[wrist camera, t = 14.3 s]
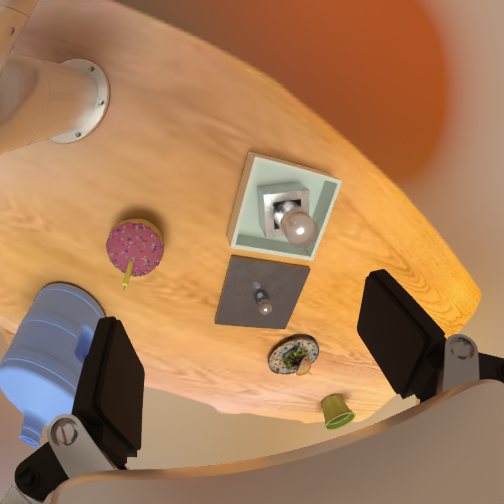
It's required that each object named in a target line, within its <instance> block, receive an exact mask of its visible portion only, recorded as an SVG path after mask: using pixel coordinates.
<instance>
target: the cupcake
mask: <svg viewBox="0 0 504 504" xmlns="http://www.w3.org/2000/svg"><path fill="white" fill-rule="evenodd" d="M106 248H107V252H108V256H109V258H110V262H112V263H113V264H114V265H115V267H116V268H118V269H119V270H121V272H123V273H126V274H125V277H124V281H123V286H124V288H123V291H125V287H127V286H128V282H129V278H130V276H131V275H132V276H139V275H141V276H142V275H143V276H144V275H145V274H149V273H150V272H151V271H152V270H153V269H155V267H156V266H158V265H159V263H160V261H161V259H162V257H163V253H164V240H163V238H162V236H161V233H160V231H159V229H158V228H157V227H156V226H154V225H153V224H152V223H151V222H149V221H148V220H145V219H129V220H122V221H120V222H118V223H117V224H116V225H115V226H114V227H113V228H112V230H111V232H110V234H109V236H108V240H107V242H106ZM141 276H140V277H141Z"/></svg>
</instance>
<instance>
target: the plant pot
mask: <svg viewBox="0 0 504 504" xmlns="http://www.w3.org/2000/svg"><path fill="white" fill-rule="evenodd" d="M322 409H323V413H324V417H325V429H326V430H335V429H338V428H341V427H343V426H345V425H347V424H348V423H350V422H351V421H352V420H353V419H354V418H355V416H356V415H355V413H353V412H352V411H351V410H350V409H349V408H348V406H347V405H346V404H345V402H344V401H343V399H342V398H341V396H340V395H339V394H334V395H332V396H328V397H326V398H325V399H324V400H323V401H322Z"/></svg>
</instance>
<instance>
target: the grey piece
mask: <svg viewBox="0 0 504 504" xmlns="http://www.w3.org/2000/svg"><path fill="white" fill-rule="evenodd" d="M257 197H258V210H259V223H260V228H261V229H262V231H263V233H264V235H265V237H266V239H267V238H273V237H280V236H285V237H286V238H287V240H288V241H289V243H290V244H291V245H292V246H293V247H295V248H298V249H304V248H308V247H310V246H311V245H313V244H314V243H315V241H316V240H317V238H318V236H319V227H318V225H317V223H316V222H315V221H314V220H313V219H312V218H311V217H310V216H309V189H307V188H306V187H305V186H304V185H302V184H301V183H300V182H289V183H280V184H271V185H263V186H257ZM289 200H291V201H289ZM281 201H284V202H282V203H280V204H279V205H278V206H277V207H276V209H275V211H274V214H273V202H281Z"/></svg>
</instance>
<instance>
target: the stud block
mask: <svg viewBox="0 0 504 504" xmlns="http://www.w3.org/2000/svg"><path fill="white" fill-rule="evenodd" d="M309 272H310V268H309V266H303V265H296V264H289V263H282V262H276V261H269V260H262V259H256V258H249V257H243V256H236V255H231V259H230V262H229V266H228V270H227V274H226V278H225V281H224V285H223V289H222V293H221V297H220V301H219V305H218V309H217V312H216V316H215V320H214V321H215V324H220V325H231V326H243V327H256V328H271V329H285V328H286V326H287V324H288V321H289V319H290V317H291V315H292V312H293V310H294V308H295V305H296V303H297V301H298V298H299V296H300V293H301V291H302V289H303V286H304V284H305V281H306V279H307V277H308V274H309Z"/></svg>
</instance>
